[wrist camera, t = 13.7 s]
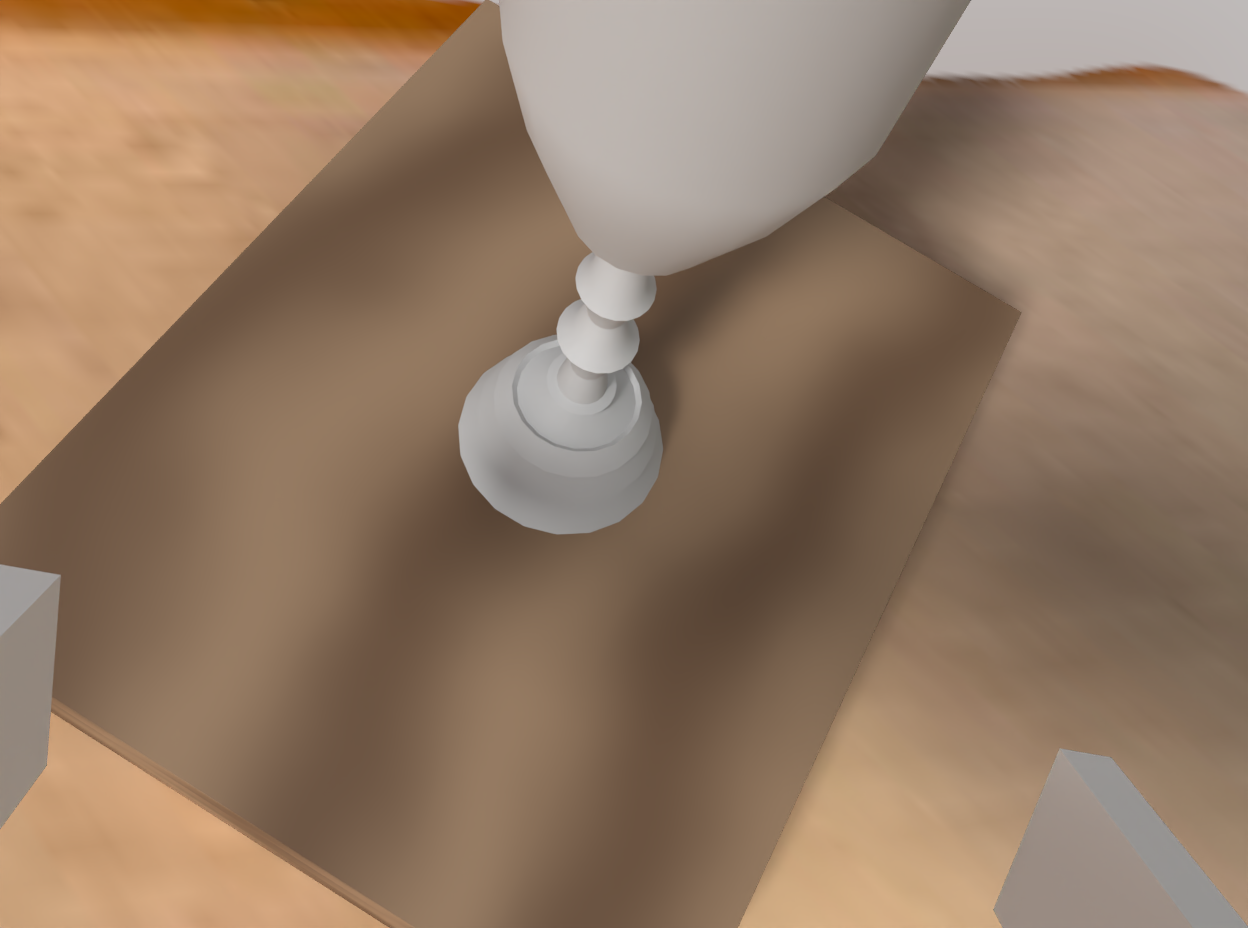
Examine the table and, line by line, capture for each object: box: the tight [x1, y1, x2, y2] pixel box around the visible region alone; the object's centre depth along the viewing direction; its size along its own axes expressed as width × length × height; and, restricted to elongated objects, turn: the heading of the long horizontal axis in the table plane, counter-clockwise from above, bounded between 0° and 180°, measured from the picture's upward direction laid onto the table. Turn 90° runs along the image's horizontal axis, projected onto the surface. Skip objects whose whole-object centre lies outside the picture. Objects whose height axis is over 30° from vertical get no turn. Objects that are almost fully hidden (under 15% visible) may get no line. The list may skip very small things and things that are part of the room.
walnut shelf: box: [0, 0, 1021, 928], centre depth 30 cm, size 18×22×6 cm
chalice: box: [458, 0, 971, 534], centre depth 19 cm, size 7×7×18 cm
